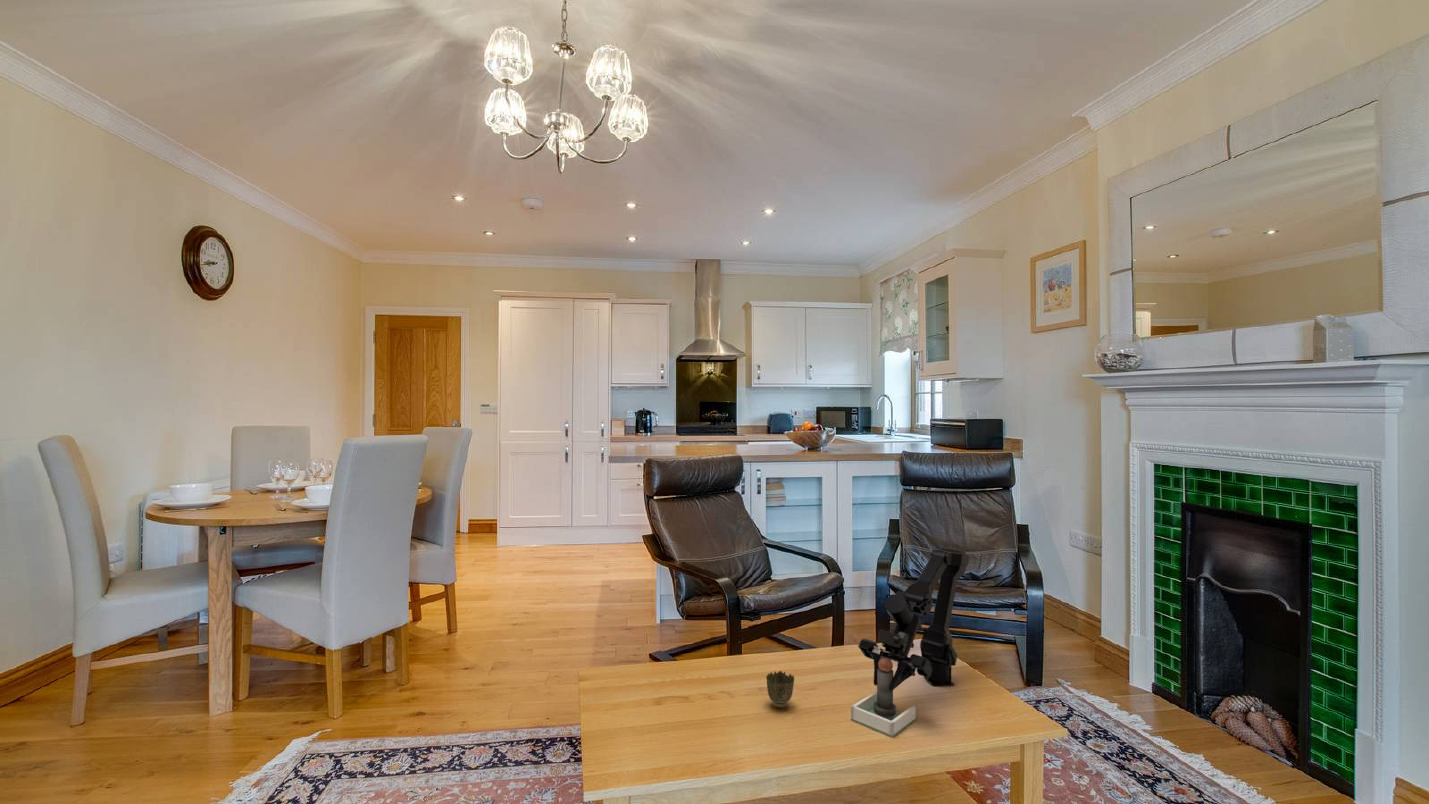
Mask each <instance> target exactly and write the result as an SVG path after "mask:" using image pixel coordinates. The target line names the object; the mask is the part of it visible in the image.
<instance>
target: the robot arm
mask: <svg viewBox="0 0 1429 804" xmlns="http://www.w3.org/2000/svg"><path fill="white" fill-rule="evenodd" d="M969 559H970V557H969V555H967V554H966V551H965V550H961V549H955V548H951V547H942V548H941V549H937V548H936V549H932V550H931V551H930V557H929V559H928V561H927V563H926V565H925V566H924V568H923V570H922V572H921V574H920V575H919V577H918V579H917V580H916V581H915V583H912V584H910V585H908V586H907V587H906V588H905V590H904V591H899V590H897V591H896V592H895V593H894V594H892V595H890V596H888V597H887V598H886V599H885V600H884V607H885V610H886V612H887V613H888V615H889V616H890V617H891V620H892V621H893V623H894V627H893V628H890V629H889V631H887V630H884V629H879V632H878V637H877V640H876V641H873V640H870V639H867V638H863V639H861V640H860V641H859V643H858V648H859V649H860V651H861V652H862V654H863V655H864V657H866V658H868V659H871V660H873V685H874V686H875V687H877V669H878V668H879V666H878V662H879V660H880V659H881V658H883V657H887V658H889V659H890V660H891V661H892V662H893V661H894V662H897V665H896V670H895V673H894V674H893V679H892V681H891V684H890V687H889V690H890V691H893V692H894V690H895V689H897V687H899V686H900V685H901V684H902V683H903V682H905V681H906V680H908V679H909V678H910V677H916V673H915V672H917V674H918V675H919V676H922V677H923V678H924V679H925V680H926V681H927V682H928V683H930V684H931V686H932V687H948V686H952V687H953V686H955V683H954V682H953V681H952V666H953V667H954V666H956V665H957V664H956V663H957V661H958V654H957V652H956V651H955V649H954V646H953V638H952V637H953V636H952V635H951V632H950V623H951V619H952V613H953V608H954V607H953V606H954V602H955V596H956V591H957V586H958V581H959V580H960V578H961V577H963V576H964V575H965V573H966V569H967V567H968V565H969V561H970V560H969ZM938 583H939V584H938ZM937 585H938V588H937V595H936V599H935V605H934V610H933V616H932V621H931V624H930V625H929V626H928V627H925V628H924V629H923V631H922V638H921V639H920V642H919V643H920V644H919V648H920V654H921V655H918V654H916V653H915V654H914V653H912V654H911V655H910V657H909V653H910V651H911V648H912V649H913V648H915V644H914V640H915V638H916V635H917V632H918V630H919V629H922V628H923V627H922V622H921V618H920V617H918V616H917V615H921V616H927V615H928V614H929V613H930V612H931V611H932V609H933V603H934V601H933V600H934V599H933V592H934V591H935V589H936V587H937ZM916 614H917V615H916ZM876 642H878V643H881V646H882V648H881V647H879V645H878V644H877V643H876ZM883 648H884V649H883Z"/></svg>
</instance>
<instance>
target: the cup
mask: <svg viewBox="0 0 1429 804" xmlns="http://www.w3.org/2000/svg"><path fill="white" fill-rule="evenodd" d="M765 678H766V687H767V693H768V695H767V696H768V697H769V699H770V700H771V701H772V705H773V707H774V708H776V709H779V710H780V709H781V710H782V709H785V708H787V705H788V702H789V701H790V700H791V698H792V696H793V692H794V683H795V676H794V675H792V674H791V673H789V674H786V672H785V671H784V672H782V670H779V671H778V672H776V670H774V672H772V671H771V672H770V673H769V672H768V674H766V677H765Z"/></svg>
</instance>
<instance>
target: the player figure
mask: <svg viewBox="0 0 1429 804" xmlns="http://www.w3.org/2000/svg"><path fill="white" fill-rule="evenodd" d="M893 664H894V663H893V660H890V659H889V658H887V657H883V658H881V659H880V660H879V662H878V666H879V668H878V669H877V685H876V692H877V701H876V702H875V703H874V712H875V713H876V714H878V715H880V716H885V717H891V716H894V715H895V714H896V711H897V706H896V704H894V690H893V691H890V690H889V687H890V684H891V681H892V679H893V677H894V669H893V667H894V665H893Z"/></svg>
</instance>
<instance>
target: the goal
mask: <svg viewBox="0 0 1429 804" xmlns="http://www.w3.org/2000/svg"><path fill="white" fill-rule="evenodd" d="M876 701H877V691H874V692H872V693H871V694H868V695H867V696H866V697H864V698H863V699H861V700H859V701H857V702H856V703H854V704H853V705H851V706H850V721H852V722H854V723H856V724H860V725H862V726H864V727H867V728H869V729H871V730H872V731H873V730H874V731H875V732H879V733H880V734H883V735H886V736H888V737H890V738H895V736H897V735H898V734H900V733H901V732H902V731H903V730H904V729H907V727H908V726H910V725H911V724H912V723H914V722H916V711H917V710H916V706H914V705H911V706H910V707H909V708H906V709H905V710H904V711H903V712H899V711H898V710H896V714H895V715H894V716H891V717H885V716H880V715H878V714H876V713H875V712H874V703H875V702H876Z"/></svg>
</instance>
